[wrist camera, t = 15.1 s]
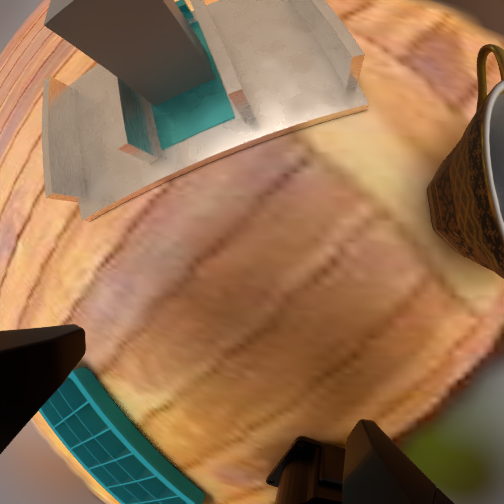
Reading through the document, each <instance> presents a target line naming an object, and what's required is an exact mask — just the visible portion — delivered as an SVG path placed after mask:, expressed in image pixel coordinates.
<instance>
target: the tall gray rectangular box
mask: <svg viewBox="0 0 504 504" xmlns="http://www.w3.org/2000/svg"><path fill="white" fill-rule="evenodd" d="M44 26H46V27H47V28H49V29H50V30H52V31H53V32H55V33H56V34H58V35H59V36H61V37H62V38H64V39H65V40H66V41H68V42H69V43H71V44H72V45H74V46H75V47H76V48H78V49H79V50H81V51H82V52H83V53H85V54H86V55H88V56H89V57H90V58H92V59H93V60H95V61H96V62H97V63H99V64H100V65H101V66H103V67H104V68H105V69H107V70H108V71H109V72H111V73H112V74H113V75H115V76H116V77H117V78H119V79H120V80H121V81H123V82H124V83H125V84H127V85H128V86H129V87H130V88H132V89H133V90H134V91H136V92H137V93H138V94H140V95H141V96H142V97H143V98H145V99H146V100H147V101H148V102H150V103H151V104H152V105H153V106H155V107H156V106H158V105H160V104H162V103H163V102H165V101H167V100H169V99H171V98H173V97H175V96H177V95H180V94H182V93H184V92H186V91H188V90H190V89H192V88H195V87H197V86H199V85H201V84H204V83H206V82H208V81H211V80H213V79H215V78H216V77H215V75H214V72H213V69H212V67H211V64H210V61H209V58H208V56H207V53H206V51H205V48H204V46H203V45H202V43H201V42H200V40H199V38H198V37H197V35H196V34H195V32H194V30H193V29H192V27H191V26H190V24H189V23H188V21H187V20H186V18H185V17H184V15H183V14H182V12H181V11H180V9H179V8H178V6H177V5H176V3H175V2H174V0H51V1H50V5H49V8H48V12H47V15H46V19H45V23H44Z"/></svg>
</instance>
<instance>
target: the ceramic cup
mask: <svg viewBox="0 0 504 504" xmlns="http://www.w3.org/2000/svg"><path fill="white" fill-rule="evenodd" d="M490 52H493V53H494V55H495V57H496V59H497V62H498V65H499V70H500V74H501V82H499V83H498V84H496V85H495V86H494V88H493V89H492V90H491V92H490V93H489V94H488V96H487V84H486V59H487V56H488V54H489V53H490ZM477 77H478V102H477V112H476V113H475V115H474V117H473V118H472V120H471V122H470V123H469V125H468V126H467V128H466V130H465V132H464V134H463V137H462V138H461V140H460V141H459V142H458V144H457V145H456V147H455V148H454V149H453V151H452V152H451V153H450V154H449V155H448V156H447V157H446V159H445V160H444V161H443V162H442V164H441V166H440V167H439V169H438V171H437V173H436V174H435V176H434V178H433V179H432V181H431V183H430V184H429V186H428V188H427V192H428V198H429V204H430V210H431V217H432V224H433V228H434V230H435V231H436V232H437V233H438V234H439V235H440V236H441V237H442V238H443V239H444V240H445V241H446V242H447V243H448V244H449V245H450V246H451V247H452V248H453V249H454V250H455V251H456V252H457V253H459V254H461V255H463V256H464V257H467V258H469V259H471V260H473V261H475V262H477V263H478V264H480V265H482V266H484V267H486V268H488V269H490V270H492V271H494V272H495V273H497V274H498V275H499V276H501V277H502V278H503V279H504V50H503V49H502V48H500V47H498V46H496V45H492V44H488V45H485V46H483V47H482V48H481V49H480V51H479V53H478V57H477Z"/></svg>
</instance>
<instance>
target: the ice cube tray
mask: <svg viewBox="0 0 504 504" xmlns="http://www.w3.org/2000/svg"><path fill="white" fill-rule="evenodd" d="M39 412H40V413H41V414H42V416H43V417H44V419H45V420H46V421H47V423H48V424H49V426H50V427H51V428H52V430H53V431H54V432H55V434H56V435H57V436H58V437H59V439H60V440H61V441H62V443H63V444H64V445H65V446H66V447H67V449H68V450H69V451H70V452H71V453H72V455H73V456H74V457H75V458H76V459H77V460H78V461H79V463H80V464H81V465H82V466H83V467H84V468H85V469H86V470H87V471H88V472H89V473H90V474H91V475H92V477H93V478H94V479H95V480H96V481H97V482H98V483H99V484H100V485H101V486H102V487H103V488H105V489H106V490H107V491H108V492H109V493H110V494H111V495H112V496H113V497H114V498H115V499H116V500H117V501H119V502H120V503H121V504H202V503H203V500H204V497H205V495H204V493H203V492H202V491H201V490H200V489H199V488H198V487H197V486H195V485H194V484H193V483H192V482H191V481H190V480H188V479H187V478H186V477H185V476H184V475H183V474H182V473H181V472H179V471H178V470H177V469H176V468H175V467H174V466H173V465H172V464H171V463H170V462H169V461H168V460H167V459H166V458H165V457H163V456H162V455H161V454H160V453H159V452H158V451H157V450H156V449H155V448H154V446H153V445H152V444H151V443H150V442H149V441H148V440H147V439H146V438H145V437H144V436H143V435H142V434H141V433H140V432H139V431H138V429H137V428H136V427H135V426H134V425H133V424H132V423H131V421H130V420H129V419H128V418H127V417H126V416H125V414H124V413H123V412H122V411H121V410H120V408H119V407H118V406H117V405H116V404H115V402H114V401H113V400H112V399H111V397H110V396H109V395H108V393H107V392H106V391H105V389H104V388H103V387H102V385H101V384H100V383H99V381H98V380H97V379H96V377H95V376H94V374H93V373H92V372H91V371H90V370H89V369H87V368H85V367H80V368H77V369H75V370H74V369H73V371H72V372H71V373H70V375H69V376H68V377H67V379H66V380H65V381H64V383H63V384H62V385H61V386H60V387H59V389H58V390H57V391H56V392H55V393H54V394H53V395H52V396H51V397H50V398H49V400H48V401H47V402H46V403H45V404H44V405H43V406H42V407H41V408H40V409H39Z"/></svg>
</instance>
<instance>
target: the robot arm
mask: <svg viewBox="0 0 504 504" xmlns="http://www.w3.org/2000/svg"><path fill="white" fill-rule="evenodd" d="M85 351H86V344H85V331H84V329H83V328H81V327H79V326H77V325H75V324H71V325H61V326H52V327H42V328H31V329H19V330H7V331H0V454H1V453H2V452H3V450H4V449H5V448H6V447H7V446H8V445H9V444H10V442H11V441H12V440H13V439H14V438H15V437H16V435H17V434H18V433H19V432H20V431H21V430H22V428H23V427H24V426H25V425H26V424H27V423H28V422H29V421H30V419H31V418H32V417H33V416H34V415H35V414H36V413H37V412H38V410H39V409H40V408H41V407H42V406H43V405H44V404H45V403H46V402H47V401H48V400H49V398H50V397H51V396H52V395H53V394H54V393H55V392H56V391H57V390H58V389H59V387H60V386H61V385H62V384H63V383H64V381H65V380H66V379H67V377H68V376H69V375H70V373H71V372H72V371H73V369H74V368H75V367H76V365H77V364H78V363H79V361H80V360H81V359H82V357H83V356H84V354H85ZM300 442H303V444H300ZM272 480H273V481H272ZM266 483H267V484H269V485H272V486H275V487H278V491H277V496H276V501H275V504H454V503H453V502H452V501H451V500H450V499H449V498H448V497H447V496H446V495H445V494H444V493H443V492H442V491H441V490H439V488H437V487H436V486H435V484H434V483H433V482H432V481H431V480H430V479H429V478H428V477H427V476H426V475H425V474H424V473H422V471H421V470H420V469H419V468H418V467H417V466H416V465H415V464H414V463H413V462H412V461H411V460H410V459H409V458H408V457H407V456H406V455H405V454H404V453H403V452H402V451H401V450H400V449H399V448H398V447H397V446H396V444H395V443H394V442H393V441H392V440H391V439H390V438H389V437H388V436H387V435H386V434H385V433H384V432H383V431H382V430H381V429H380V428H379V427H378V426H377V424H376V423H375V422H374V421H372V420H364V419H362V420H359V421H358V423H357V424H356V426H355V427H354V429H353V430H352V432H351V433H350V435H349V436H348V438H347V442H346V450H345V449H342V448H338V447H335V446H331V445H328V444H323V443H320V442H317V441H314V440H311V439H308V438H305V437H299V438H297V439H296V440H295V442H294V443H293V444H292V446H291V447H290V448H289V450H288V451H287V452H286V454H285V455H284V456H283V458H282V459H281V460H280V462H279V463H278V464H277V466H276V467H275V468H274V469H273V471H272V472H271V473H270V474H269V476H268V477H267V479H266Z"/></svg>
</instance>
